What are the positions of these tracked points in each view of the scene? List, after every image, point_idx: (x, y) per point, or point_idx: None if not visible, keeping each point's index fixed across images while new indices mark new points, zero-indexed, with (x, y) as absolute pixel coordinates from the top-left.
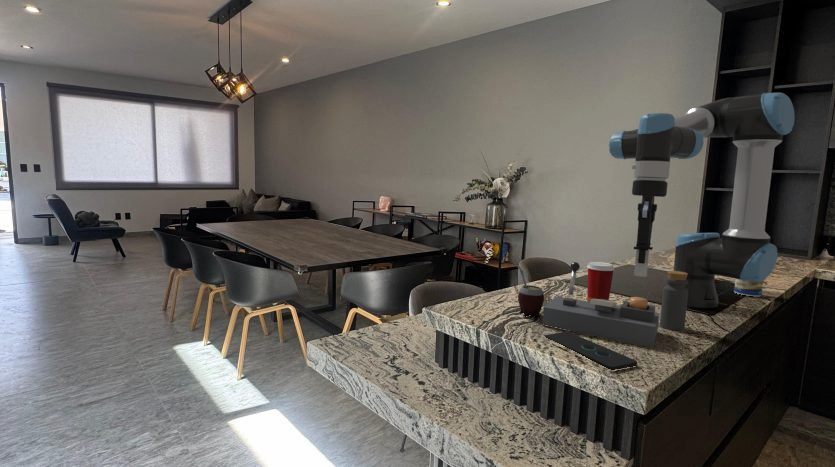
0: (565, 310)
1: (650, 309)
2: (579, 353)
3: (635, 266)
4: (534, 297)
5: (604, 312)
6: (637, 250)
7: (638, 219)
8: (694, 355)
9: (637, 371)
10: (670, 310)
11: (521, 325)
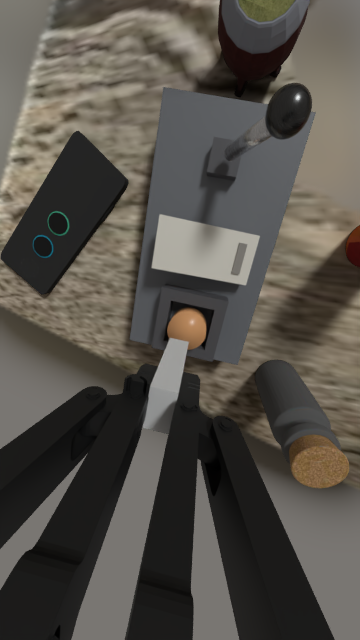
0: (159, 156)
1: None
2: (28, 209)
3: (164, 352)
4: (223, 29)
5: None
6: (150, 387)
7: (14, 575)
8: None
9: (30, 291)
10: (264, 389)
11: (151, 59)
